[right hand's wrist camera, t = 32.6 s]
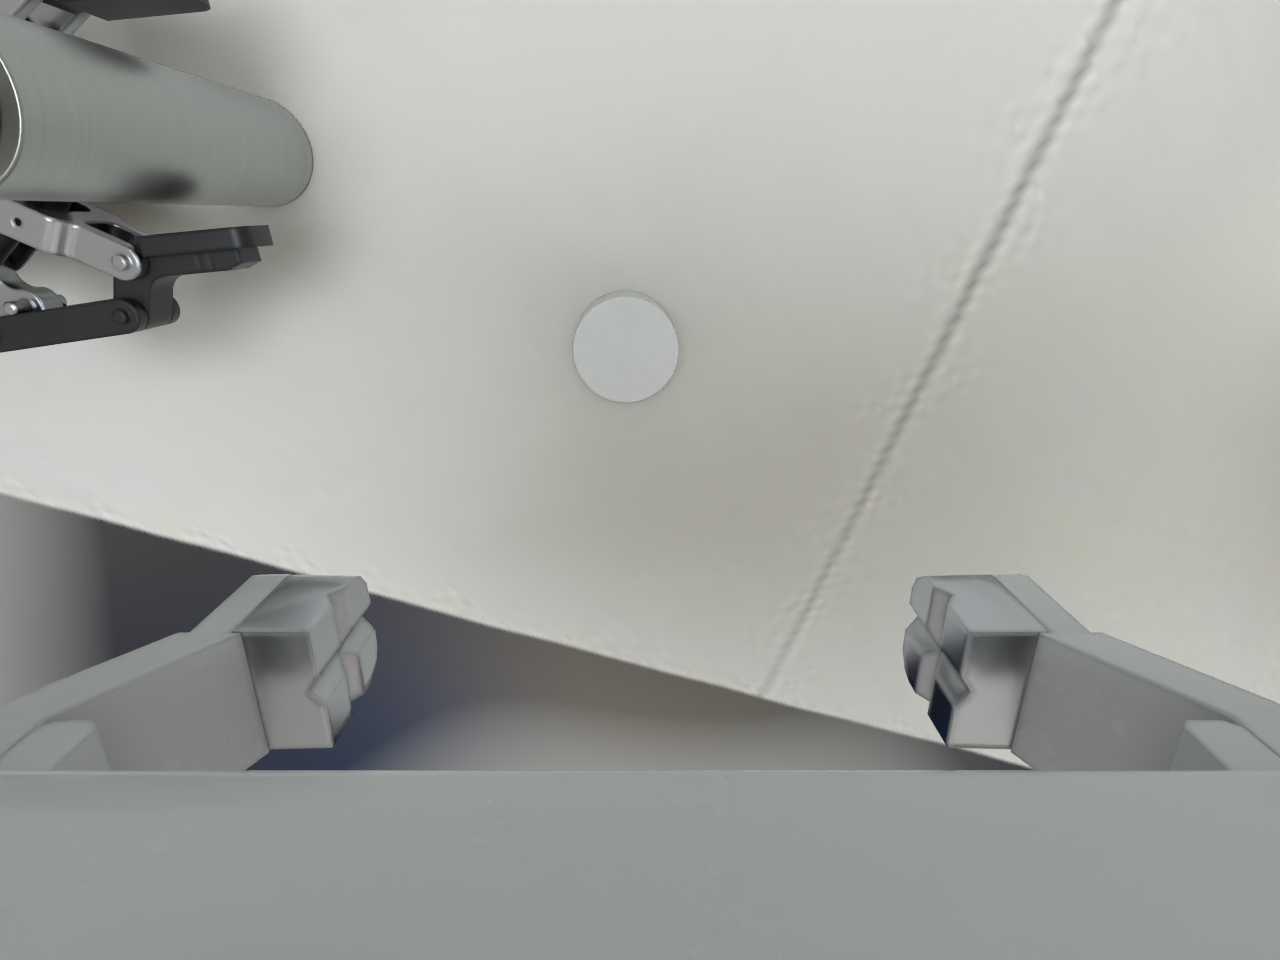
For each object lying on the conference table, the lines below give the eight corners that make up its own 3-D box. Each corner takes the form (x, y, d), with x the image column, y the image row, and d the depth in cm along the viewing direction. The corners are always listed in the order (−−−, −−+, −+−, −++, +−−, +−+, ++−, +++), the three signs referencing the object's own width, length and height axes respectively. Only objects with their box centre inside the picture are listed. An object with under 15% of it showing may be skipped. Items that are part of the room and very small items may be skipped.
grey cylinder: (269, 227, 31) (-142, 242, 14) (190, 145, 29) (-364, 56, 13) (334, 160, 30) (-25, 93, 13) (255, 73, 29) (-251, -123, 12)
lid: (642, 407, 34) (644, 421, 32) (558, 359, 33) (553, 370, 31) (693, 324, 33) (699, 332, 31) (607, 270, 32) (606, 275, 30)
